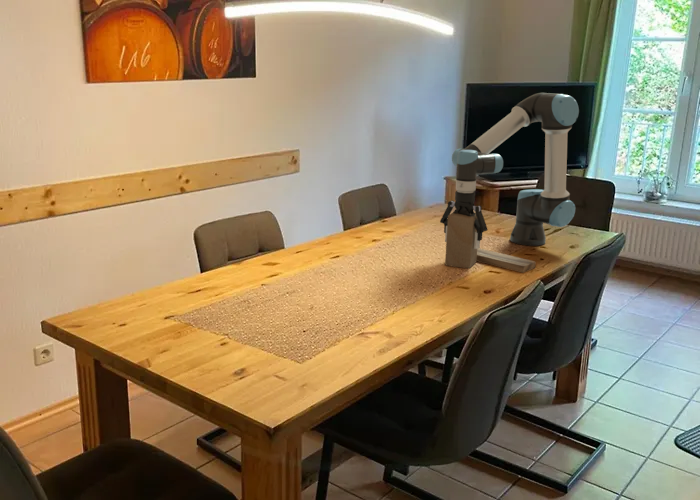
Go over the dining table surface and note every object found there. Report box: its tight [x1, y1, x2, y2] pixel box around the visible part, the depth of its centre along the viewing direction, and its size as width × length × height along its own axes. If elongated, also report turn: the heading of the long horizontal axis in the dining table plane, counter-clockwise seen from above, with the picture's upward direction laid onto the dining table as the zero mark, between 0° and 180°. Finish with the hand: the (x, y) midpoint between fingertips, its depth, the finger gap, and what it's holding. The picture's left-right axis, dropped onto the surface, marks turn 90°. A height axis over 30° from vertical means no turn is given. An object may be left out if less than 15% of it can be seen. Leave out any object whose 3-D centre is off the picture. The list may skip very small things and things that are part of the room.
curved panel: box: [476, 247, 537, 273], centre depth 273 cm, size 9×28×4 cm, turn 47°
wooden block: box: [444, 212, 478, 269], centre depth 268 cm, size 10×10×20 cm
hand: (462, 244), depth 268 cm, fingers open, 13 cm apart
